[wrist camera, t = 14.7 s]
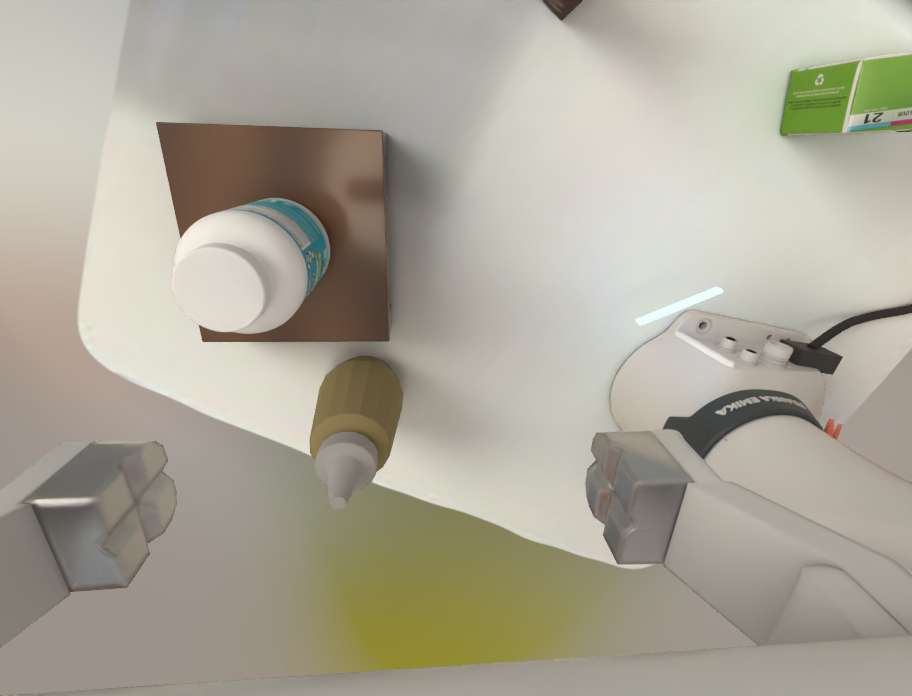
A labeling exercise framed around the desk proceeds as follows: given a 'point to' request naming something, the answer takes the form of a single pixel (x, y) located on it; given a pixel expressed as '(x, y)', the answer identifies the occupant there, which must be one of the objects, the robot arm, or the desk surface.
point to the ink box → (851, 97)
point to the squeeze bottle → (354, 425)
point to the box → (562, 6)
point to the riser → (313, 186)
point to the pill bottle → (249, 265)
